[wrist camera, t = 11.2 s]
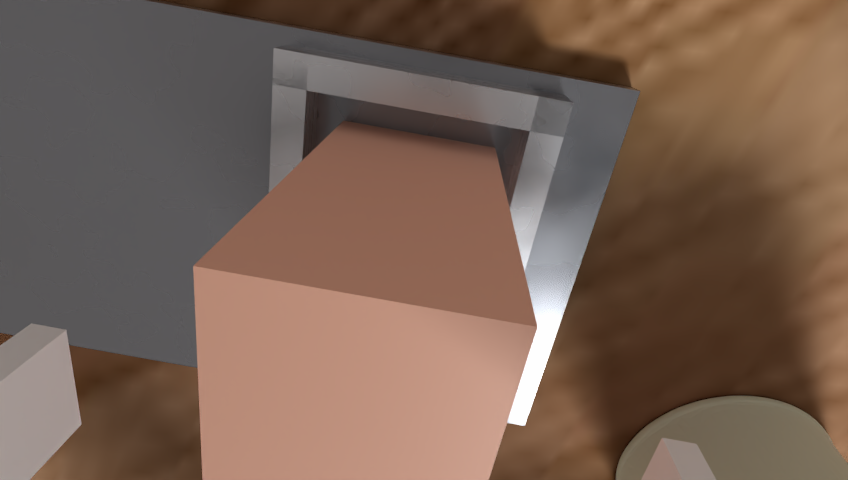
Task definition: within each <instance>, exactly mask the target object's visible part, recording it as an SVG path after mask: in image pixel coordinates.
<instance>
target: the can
mask: <svg viewBox="0 0 848 480" xmlns="http://www.w3.org/2000/svg"><path fill="white" fill-rule="evenodd" d="M662 438H667V439H673V440H678V441H684V442H689V443H695V444H697V445H698V447H699V449H700V451H701V453H702V455H703V456H704V458H705V460H706V462H707V464H708V465H709V467H710V469H711V471H712V473H713V475H714V476H715V478H716V480H848V463H847V462H846V461H845V459H844V458H843V457H842V455H841V454H840V453H839V452H838V450H837V449H836V448H835V446H834V445H833V443H832V441H831V439H830V437H829V435H828V434H827V432H826V431H825V429H824V428H823V427H822V426H821V425H820V424H819V423H818V422H817V421H816V420H815V419H814V418H813V417H811V416H810V415H809V414H807V413H806V412H804V411H802V410H800V409H799V408H797V407H795V406H792V405H790V404H788V403H785V402H781V401H778V400H774V399H770V398H765V397H758V396H723V397H715V398H709V399H705V400H700V401H697V402H693V403H690V404H687V405H684V406H681V407H679V408H676V409H674V410H672V411H670V412H668V413H666V414H664V415H662V416H660V417H659V418H657V419H656V420H654V421H653V422H651V423H650V424H648V425H647V426H646V427H644V428H643V429H642V430H641V431H640V432H639V433H638V434H637V435H636V436H635V437H634V438H633V439H632V440H631V441H630V443H629V444H628V446H627V447H626V448H625V450H624V452H623V453H622V455H621V458H620V460H619V463H618V466H617V470H616V480H641V479H642V477H643V475H644V473H645V471H646V469H647V467H648V465H649V463H650V461H651V459H652V457H653V455H654V453H655V451H656V449H657V447H658V445H659V443H660V441H661V439H662Z"/></svg>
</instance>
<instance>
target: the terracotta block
mask: <svg viewBox="0 0 848 480" xmlns="http://www.w3.org/2000/svg"><path fill="white" fill-rule="evenodd" d="M193 274H194V297H195V320H196V342H197V365H198V388H199V410H200V433H201V456H202V479H203V480H489V477H490V474H491V471H492V468H493V465H494V462H495V459H496V455H497V452H498V449H499V446H500V443H501V440H502V437H503V434H504V430H505V427H506V424H507V421H508V418H509V415H510V412H511V409H512V405H513V402H514V399H515V396H516V393H517V390H518V387H519V384H520V380H521V377H522V374H523V371H524V368H525V365H526V362H527V359H528V355H529V352H530V349H531V346H532V343H533V340H534V337H535V334H536V330H537V323H536V318H535V314H534V310H533V306H532V301H531V297H530V293H529V289H528V284H527V280H526V276H525V272H524V267H523V263H522V259H521V255H520V251H519V246H518V242H517V238H516V234H515V229H514V225H513V221H512V217H511V212H510V208H509V204H508V200H507V195H506V191H505V187H504V183H503V179H502V174H501V170H500V166H499V162H498V157H497V153H496V149H495V148H493V147H488V146H482V145H477V144H471V143H466V142H460V141H454V140H449V139H443V138H438V137H432V136H427V135H421V134H416V133H410V132H404V131H399V130H393V129H388V128H382V127H377V126H371V125H366V124H360V123H354V122H349V121H343V122H342V123H341V124H340V125H339V126H338V127H337V128H335V129H334V130H333V131H332V132H331V133H330V134H329V135H328V136H327V137H326V138H325V139H324V140H323V141H322V142H321V143H320V144H319V145H318V146H317V147H316V148H315V149H314V150H313V151H312V152H311V153H310V154H309V155H308V156H306V157H305V158H304V159H303V160H302V161H301V162H300V163H299V164H298V165H297V166H296V167H295V168H294V169H293V170H292V171H291V172H290V173H289V174H288V175H287V176H286V177H285V178H284V179H283V180H282V181H281V182H280V183H279V184H277V185H276V186H275V187H274V188H273V189H272V190H271V191H270V192H269V193H268V194H267V195H266V196H265V197H264V198H263V199H262V200H261V201H260V202H259V203H258V204H257V205H256V206H255V207H254V208H253V209H252V210H251V211H250V212H249V213H247V214H246V215H245V216H244V217H243V218H242V219H241V220H240V221H239V222H238V223H237V224H236V225H235V226H234V227H233V228H232V229H231V230H230V231H229V232H228V233H227V234H226V235H225V236H224V237H223V238H222V239H221V240H220V241H218V242H217V243H216V244H215V245H214V246H213V247H212V248H211V249H210V250H209V251H208V252H207V253H206V254H205V255H204V256H203V257H202V258H201V259H200V260H199V261H198V262H197V263H196V264H195V265H194V266H193Z"/></svg>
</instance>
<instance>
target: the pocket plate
mask: <svg viewBox="0 0 848 480" xmlns="http://www.w3.org/2000/svg"><path fill="white" fill-rule="evenodd" d="M639 93H640V91H639V90H637V89H635V88H632V87H627V86H622V85H617V84H611V83H606V82H600V81H595V80H589V79H584V78H578V77H573V76H568V75H562V74H557V73H551V72H546V71H540V70H535V69H529V68H524V67H519V66H513V65H508V64H502V63H497V62H491V61H486V60H480V59H475V58H470V57H464V56H459V55H453V54H448V53H442V52H437V51H431V50H426V49H421V48H415V47H410V46H404V45H399V44H393V43H388V42H382V41H377V40H372V39H366V38H361V37H355V36H350V35H344V34H339V33H333V32H328V31H323V30H317V29H312V28H306V27H301V26H295V25H290V24H284V23H279V22H274V21H268V20H263V19H257V18H252V17H246V16H241V15H235V14H230V13H225V12H219V11H214V10H208V9H203V8H197V7H192V6H186V5H181V4H176V3H170V2H165V1H159V0H0V333H4V334H10V335H16V334H17V333H19V332H20V331H21V330H23V329H24V328H26V327H27V326H28V325H30V324H31V323H32V324H37V325H43V326H49V327H54V328H60V329H65V330H66V331H67V337H68V343H69V345H72V346H78V347H83V348H89V349H94V350H100V351H106V352H111V353H117V354H123V355H128V356H134V357H139V358H145V359H151V360H156V361H162V362H168V363H173V364H179V365H185V366H190V367H196V368H198V365H197V342H196V320H195V297H194V274H193V266H194V265H195V264H196V263H197V262H198V261H199V260H200V259H201V258H202V257H203V256H204V255H205V254H206V253H207V252H208V251H209V250H210V249H211V248H212V247H213V246H214V245H215V244H216V243H217V242H218V241H220V240H221V239H222V238H223V237H224V236H225V235H226V234H227V233H228V232H229V231H230V230H231V229H232V228H233V227H234V226H235V225H236V224H237V223H238V222H239V221H240V220H241V219H242V218H243V217H244V216H245V215H246V214H247V213H249V212H250V211H251V210H252V209H253V208H254V207H255V206H256V205H257V204H258V203H259V202H260V201H261V200H262V199H263V198H264V197H265V196H266V195H267V194H268V193H269V192H270V191H271V190H272V189H273V188H274V187H275V186H276V185H277V184H279V183H280V182H281V181H282V180H283V179H284V178H285V177H286V176H287V175H288V174H289V173H290V172H291V171H292V170H293V169H294V168H295V167H296V166H297V165H298V164H299V163H300V162H301V161H302V160H303V159H304V158H305V157H306V156H308V155H309V154H310V153H311V152H312V151H313V150H314V149H315V148H316V147H317V146H318V145H319V144H320V143H321V142H322V141H323V140H324V139H325V138H326V137H327V136H328V135H329V134H330V133H331V132H332V131H333V130H334V129H335V128H337V127H338V126H339V125H340V124H341V123H342V122H343V121H349V122H354V123H360V124H366V125H371V126H377V127H382V128H388V129H393V130H399V131H404V132H410V133H416V134H421V135H427V136H432V137H438V138H443V139H449V140H454V141H460V142H466V143H471V144H477V145H482V146H488V147H493V148H495V149H496V153H497V157H498V162H499V166H500V170H501V174H502V179H503V183H504V187H505V191H506V195H507V200H508V204H509V208H510V212H511V217H512V221H513V225H514V229H515V234H516V238H517V242H518V246H519V251H520V255H521V259H522V263H523V267H524V272H525V276H526V280H527V284H528V289H529V293H530V297H531V301H532V306H533V310H534V314H535V318H536V323H537V330H536V334H535V337H534V340H533V343H532V346H531V349H530V352H529V355H528V359H527V362H526V365H525V368H524V371H523V374H522V377H521V380H520V384H519V387H518V390H517V393H516V396H515V399H514V402H513V405H512V409H511V412H510V415H509V418H508V421H507V423H511V424H517V425H523V426H525V424H526V421H527V418H528V415H529V412H530V409H531V406H532V403H533V400H534V398H535V395H536V392H537V389H538V386H539V383H540V380H541V377H542V374H543V371H544V369H545V366H546V363H547V360H548V357H549V354H550V351H551V348H552V345H553V342H554V340H555V337H556V334H557V331H558V328H559V325H560V322H561V319H562V316H563V314H564V311H565V308H566V305H567V302H568V299H569V296H570V293H571V290H572V287H573V285H574V282H575V279H576V276H577V273H578V270H579V267H580V264H581V261H582V259H583V256H584V253H585V250H586V247H587V244H588V241H589V238H590V235H591V232H592V230H593V227H594V224H595V221H596V218H597V215H598V212H599V209H600V206H601V203H602V201H603V198H604V195H605V192H606V189H607V186H608V183H609V180H610V177H611V175H612V172H613V169H614V166H615V163H616V160H617V157H618V154H619V151H620V148H621V146H622V143H623V140H624V137H625V134H626V131H627V128H628V125H629V122H630V119H631V117H632V114H633V111H634V108H635V105H636V102H637V99H638V96H639Z"/></svg>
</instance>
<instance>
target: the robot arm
mask: <svg viewBox="0 0 848 480" xmlns="http://www.w3.org/2000/svg"><path fill="white" fill-rule="evenodd" d="M80 426H81V418H80V411H79V405H78V399H77V393H76V387H75V380H74V374H73V368H72V362H71V356H70V349H69V343H68V337H67V331H66V330H65V329H60V328H54V327H49V326H43V325H37V324H32V323H31V324H30V325H28V326H27V327H26V328H24V329H23V330H21V331H20V332H19V333H17V334H16V335H14V336H13V337H11V338H10V339H9V340H7V341H6V342H4V343H3V344H2V345H0V480H30V479H31V478H32V477H33V476H34V475H35V474H36V472H37V471H38V470H39V469H40V468H41V467H42V466H43V465H44V464H45V463H46V462H47V461H48V460H49V459H50V458H51V456H52V455H53V454H54V453H55V452H56V451H57V450H58V449H59V448H60V447H61V446H62V445H63V444H64V443H65V442H66V440H67V439H68V438H69V437H70V436H71V435H72V434H73V433H74V432H75V431H76V430H77V429H78V428H79V427H80ZM641 480H716V478H715V476H714V475H713V473H712V471H711V469H710V467H709V465H708V464H707V462H706V460H705V458H704V456H703V455H702V453H701V451H700V449H699V447H698V445H697V444H695V443H689V442H684V441H678V440H673V439H667V438H662V439H661V441H660V443H659V445H658V447H657V449H656V451H655V453H654V455H653V457H652V459H651V461H650V463H649V465H648V467H647V469H646V471H645V473H644V475H643V477H642V479H641Z"/></svg>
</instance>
